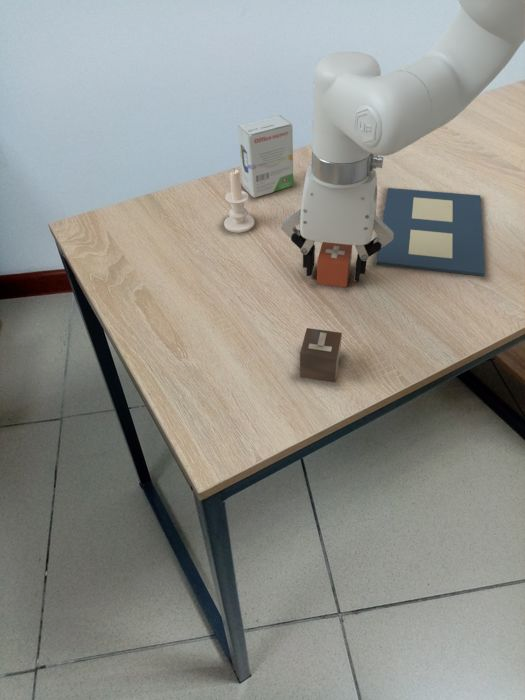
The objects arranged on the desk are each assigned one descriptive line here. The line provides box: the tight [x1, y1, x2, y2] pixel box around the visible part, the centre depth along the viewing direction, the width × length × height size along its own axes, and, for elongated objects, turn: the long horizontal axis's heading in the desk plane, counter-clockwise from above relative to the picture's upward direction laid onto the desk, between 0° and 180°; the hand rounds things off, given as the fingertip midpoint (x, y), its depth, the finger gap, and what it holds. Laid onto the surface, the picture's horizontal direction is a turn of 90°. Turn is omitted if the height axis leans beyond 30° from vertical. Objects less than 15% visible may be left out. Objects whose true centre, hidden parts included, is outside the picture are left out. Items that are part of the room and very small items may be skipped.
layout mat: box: [375, 187, 486, 277], centre depth 88 cm, size 16×22×1 cm
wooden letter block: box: [299, 327, 343, 383], centre depth 67 cm, size 4×4×5 cm
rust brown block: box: [316, 242, 353, 288], centre depth 79 cm, size 4×4×5 cm
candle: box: [223, 169, 255, 234], centre depth 88 cm, size 5×5×10 cm
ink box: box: [237, 115, 294, 199], centre depth 95 cm, size 9×5×12 cm, turn 116°
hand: (333, 272), depth 80 cm, fingers open, 6 cm apart
